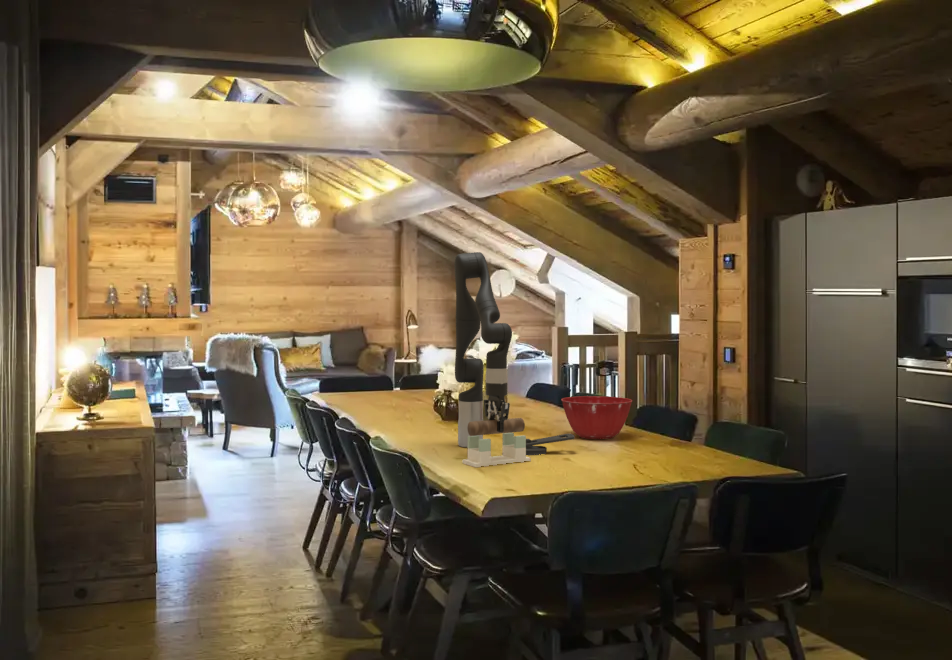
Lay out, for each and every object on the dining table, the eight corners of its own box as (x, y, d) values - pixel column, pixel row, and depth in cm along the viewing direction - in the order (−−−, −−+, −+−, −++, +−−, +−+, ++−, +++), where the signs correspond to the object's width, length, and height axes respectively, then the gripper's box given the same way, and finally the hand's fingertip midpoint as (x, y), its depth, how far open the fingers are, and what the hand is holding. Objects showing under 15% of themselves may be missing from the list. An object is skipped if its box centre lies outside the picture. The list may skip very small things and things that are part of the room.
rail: (474, 436, 309) (474, 422, 309) (467, 435, 313) (467, 421, 313) (524, 432, 319) (524, 418, 319) (517, 430, 323) (517, 417, 323)
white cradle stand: (475, 467, 307) (475, 440, 307) (462, 463, 315) (462, 436, 314) (530, 461, 318) (530, 435, 318) (516, 457, 326) (516, 432, 325)
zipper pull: (576, 436, 332) (508, 437, 328) (576, 454, 332) (508, 456, 328) (570, 432, 341) (503, 434, 337) (570, 450, 341) (503, 452, 337)
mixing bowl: (561, 431, 388) (561, 394, 387) (629, 432, 385) (629, 395, 385) (561, 442, 360) (561, 402, 359) (634, 443, 357) (635, 403, 356)
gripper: (476, 380, 320) (476, 429, 320) (497, 383, 307) (497, 434, 308) (495, 379, 323) (495, 427, 324) (516, 382, 311) (516, 433, 312)
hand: (496, 430), depth 316 cm, fingers closed on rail, 4 cm apart
